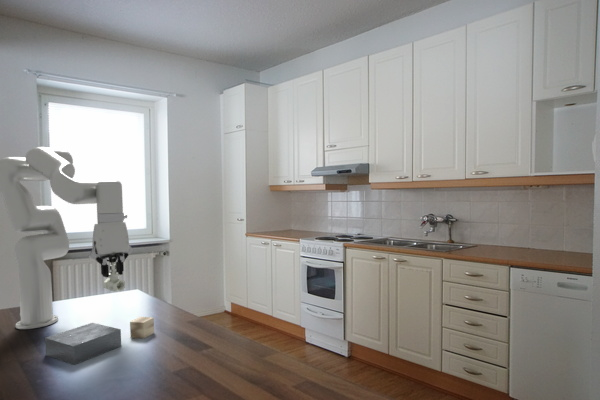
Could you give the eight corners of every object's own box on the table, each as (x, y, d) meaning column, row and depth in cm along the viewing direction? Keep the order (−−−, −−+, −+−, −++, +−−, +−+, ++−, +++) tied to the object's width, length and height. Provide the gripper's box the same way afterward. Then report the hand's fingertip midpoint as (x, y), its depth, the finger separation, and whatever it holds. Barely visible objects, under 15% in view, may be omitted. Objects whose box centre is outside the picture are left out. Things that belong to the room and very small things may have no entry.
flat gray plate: (45, 355, 111) (44, 337, 111) (93, 338, 123) (92, 322, 123) (74, 364, 104) (73, 346, 104) (121, 346, 116) (120, 329, 116)
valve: (111, 294, 122) (108, 256, 121) (98, 292, 125) (96, 255, 125) (130, 289, 127) (127, 252, 127) (117, 287, 131) (115, 251, 130)
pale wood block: (130, 337, 123) (129, 321, 123) (141, 331, 128) (140, 316, 128) (144, 338, 122) (143, 322, 122) (154, 332, 126) (153, 317, 126)
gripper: (130, 216, 135) (132, 269, 135) (78, 220, 122) (80, 278, 123) (140, 217, 130) (143, 272, 130) (87, 221, 117) (89, 282, 118)
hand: (112, 274), depth 126 cm, fingers closed on valve, 3 cm apart
